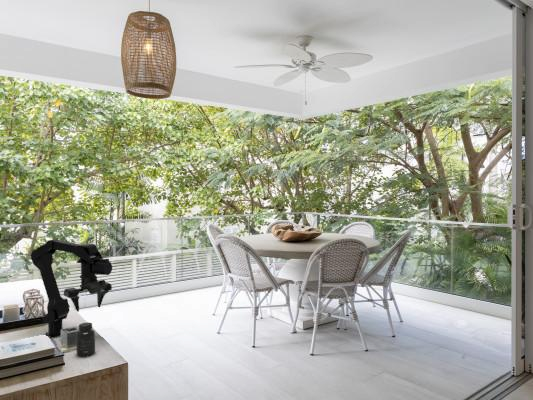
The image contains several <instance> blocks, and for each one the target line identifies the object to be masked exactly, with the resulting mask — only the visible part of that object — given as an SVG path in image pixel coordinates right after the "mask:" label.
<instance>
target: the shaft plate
mask: <svg viewBox="0 0 533 400" xmlns="http://www.w3.org/2000/svg"><path fill="white" fill-rule="evenodd" d="M58 345H59V347H60V349H61V350H62V351H63V352H65V353H68V351H69V352H72V351H71V350H73V351H75V349H76V350H77V347H73V348H70V349H66V348H65V347H63V346H62V345H61V344H58Z"/></svg>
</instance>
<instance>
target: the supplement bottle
mask: <svg viewBox="0 0 533 400" xmlns="http://www.w3.org/2000/svg"><path fill="white" fill-rule="evenodd" d="M78 327H79V331H78V332H77V334H76V344H77V349H76V355H77V357H78V358H88V357H87V356H89V357H92V356H93V355H95V353H96V332H95V330H94V329H93V323H92V322H82V323H80V324H79V325H78ZM91 355H92V356H91Z"/></svg>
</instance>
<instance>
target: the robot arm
mask: <svg viewBox="0 0 533 400" xmlns="http://www.w3.org/2000/svg"><path fill="white" fill-rule="evenodd" d="M57 251H61V252H65V253H70V254H73V255H75V256H76V257H78V258H79V259H77V261H76V264H80V275H79V278H80V285H79V288H76V287H68V288H65V289H64V290H63V296H64V297H67V298H63V297H62V296H61V293H60V289H59V287H58V283H57V280H56V277H55V273H54V269H53V267H52V265H53V260H54V257H53V255H54V254H55V253H56V252H57ZM30 259H31V261H32V264H33V265H34V267H36V268H37V269H38V271H39V273H40V276H41V280H42V283H43V286H44V288H45V292H46V296H47V299H48V303H47V306H46V310H47V313H46V314H45V315H44V316H43V317H42V323H43V324H47V328H48V329H47V332H45V335H46V334H47V335H48V336H47V335H46V336H47V337H49V336H50V337H51V338H55V337H58V336H60V337H61V329H64V328H63V320H66V319H67V317H68V314H69V312H70V307H71V306H70V304H69V302H68V301H69V300H68V299H70V300H71V302H72V304H73V306H74V308H75V310H76V312H77V313H78V312H80V304H79V303H80V302H79V299H80V296H79V294H83V293H89V294H90V295H94V294H96V296H97V297H96V298H97V307H98V308H100V307H101V306H102V302H103V300H104V297H105V296H106V294H108V293H109V292H110V291H112V289H113V287H112V284H111V283H110V282H107V281H106V279H102V280H101V279H100V280H98V277H97V276H98V275H103V276H109V275H110V274H111V273H112V271H113V265H112V263H111V261H110V259H109V258H104V257H103V256H102V254H101V253H100V251H99V250H98V247H97V245H96V244H94V243H76V242H75V243H74V242H72V241H71V242H70V241H65V240H60V239H57V238H55V239H49V240H47V241H46V242H45V243H44V244H42V245H40V246H38V247H37V248H36V249H33V250H32V251H31V254H30ZM50 337H49V338H50Z"/></svg>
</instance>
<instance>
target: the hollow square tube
mask: <svg viewBox="0 0 533 400" xmlns="http://www.w3.org/2000/svg"><path fill="white" fill-rule="evenodd" d="M78 331H79V325H78V326H77V325H75V326H71V327H66V328H63V329H61V335H60V345H62V346H63V347H65V348H66V349H70V348H73V347H77V344H76V334H77V332H78Z"/></svg>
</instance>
